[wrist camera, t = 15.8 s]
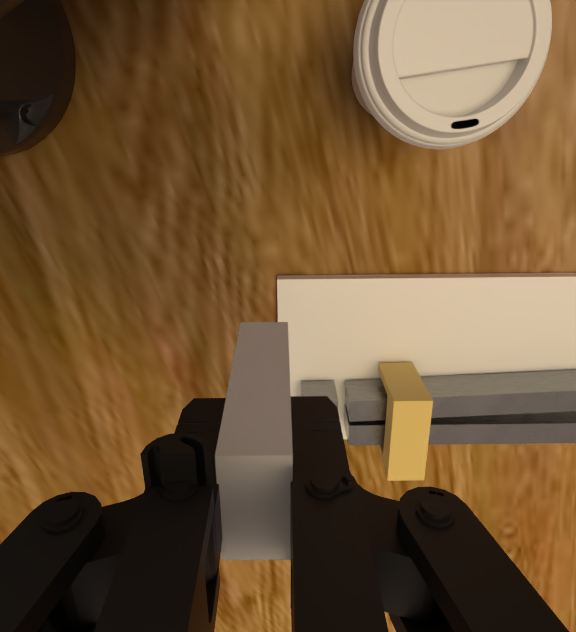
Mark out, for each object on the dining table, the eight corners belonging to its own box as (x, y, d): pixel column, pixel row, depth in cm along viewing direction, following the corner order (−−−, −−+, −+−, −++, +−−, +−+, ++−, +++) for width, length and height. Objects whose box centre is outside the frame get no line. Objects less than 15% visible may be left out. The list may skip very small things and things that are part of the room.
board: (280, 432, 47) (279, 439, 46) (277, 275, 42) (277, 279, 41) (626, 428, 48) (634, 436, 46) (672, 271, 42) (683, 275, 41)
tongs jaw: (345, 400, 44) (349, 421, 41) (344, 380, 44) (349, 401, 40) (608, 387, 44) (634, 408, 41) (613, 367, 43) (639, 387, 40)
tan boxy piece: (374, 433, 46) (387, 480, 40) (378, 362, 43) (394, 401, 37) (405, 433, 46) (423, 480, 40) (412, 362, 43) (433, 400, 37)
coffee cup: (315, 123, 37) (334, 122, 23) (351, -19, 34) (398, -121, 20) (432, 155, 38) (518, 172, 24) (479, 19, 35) (609, -52, 21)
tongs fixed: (301, 422, 45) (302, 445, 42) (300, 381, 44) (302, 401, 40) (599, 419, 45) (624, 442, 42) (610, 378, 44) (637, 398, 40)
